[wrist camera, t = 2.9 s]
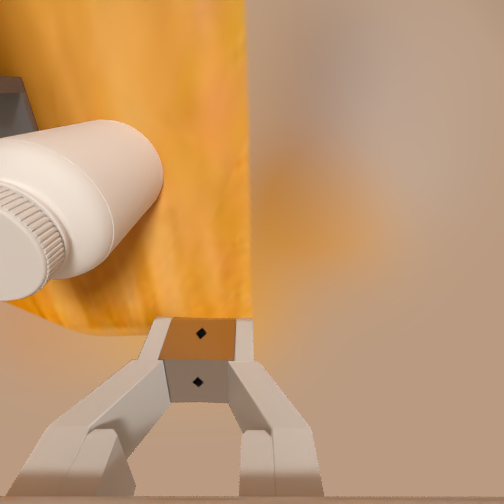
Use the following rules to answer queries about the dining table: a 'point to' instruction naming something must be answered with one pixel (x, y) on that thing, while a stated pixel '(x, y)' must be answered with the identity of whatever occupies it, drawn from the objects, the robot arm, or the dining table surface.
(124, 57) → the dining table surface
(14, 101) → the u rest
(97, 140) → the pill bottle
